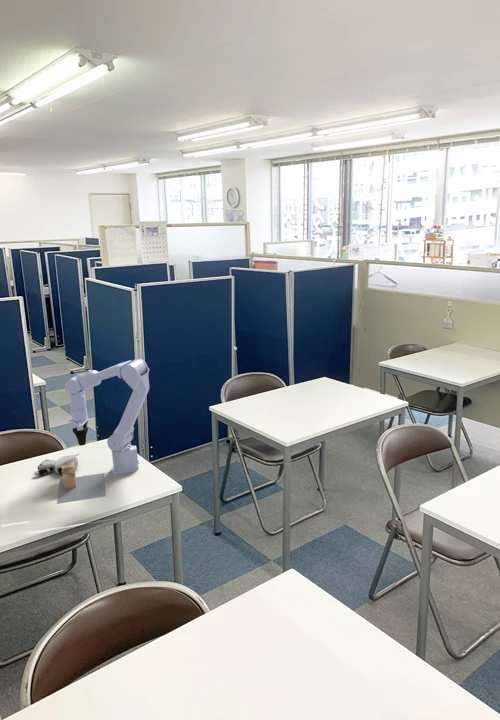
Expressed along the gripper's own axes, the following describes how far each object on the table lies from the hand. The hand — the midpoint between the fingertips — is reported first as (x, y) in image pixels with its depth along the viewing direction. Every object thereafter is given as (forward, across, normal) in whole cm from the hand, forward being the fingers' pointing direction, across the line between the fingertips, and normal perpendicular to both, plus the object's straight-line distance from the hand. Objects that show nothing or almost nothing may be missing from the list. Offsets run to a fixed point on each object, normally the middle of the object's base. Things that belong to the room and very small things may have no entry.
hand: (82, 441), depth 210 cm
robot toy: (+11, +1, -10) cm, 15 cm away
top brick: (+6, +16, -5) cm, 18 cm away
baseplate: (+10, +19, -1) cm, 22 cm away
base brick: (+10, +16, -5) cm, 19 cm away
